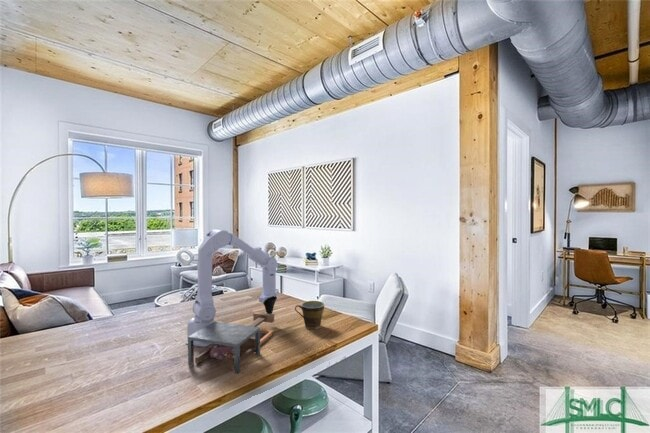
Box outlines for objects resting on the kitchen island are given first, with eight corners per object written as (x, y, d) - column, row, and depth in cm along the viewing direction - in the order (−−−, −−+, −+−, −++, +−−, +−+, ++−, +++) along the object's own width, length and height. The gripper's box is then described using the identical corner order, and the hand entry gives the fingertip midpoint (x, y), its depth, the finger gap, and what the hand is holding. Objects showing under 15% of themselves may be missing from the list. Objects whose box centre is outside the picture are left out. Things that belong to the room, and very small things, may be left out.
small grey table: (188, 364, 101) (187, 336, 101) (215, 346, 115) (214, 321, 114) (237, 374, 96) (237, 344, 95) (260, 353, 109) (259, 327, 109)
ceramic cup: (325, 323, 138) (325, 301, 137) (323, 332, 128) (323, 308, 127) (297, 321, 139) (297, 300, 139) (292, 330, 129) (292, 307, 129)
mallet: (195, 363, 102) (195, 345, 102) (249, 325, 134) (249, 311, 134) (234, 370, 97) (233, 351, 97) (280, 329, 130) (280, 314, 130)
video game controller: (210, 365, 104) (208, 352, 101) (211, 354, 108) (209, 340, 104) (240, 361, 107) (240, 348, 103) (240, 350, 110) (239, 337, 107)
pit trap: (225, 345, 116) (225, 341, 116) (245, 330, 129) (245, 327, 129) (255, 349, 112) (255, 345, 112) (273, 334, 125) (273, 330, 125)
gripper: (269, 288, 127) (269, 320, 128) (284, 280, 141) (284, 309, 141) (254, 286, 129) (254, 318, 130) (270, 278, 143) (270, 307, 144)
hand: (269, 313), depth 136 cm, fingers closed
